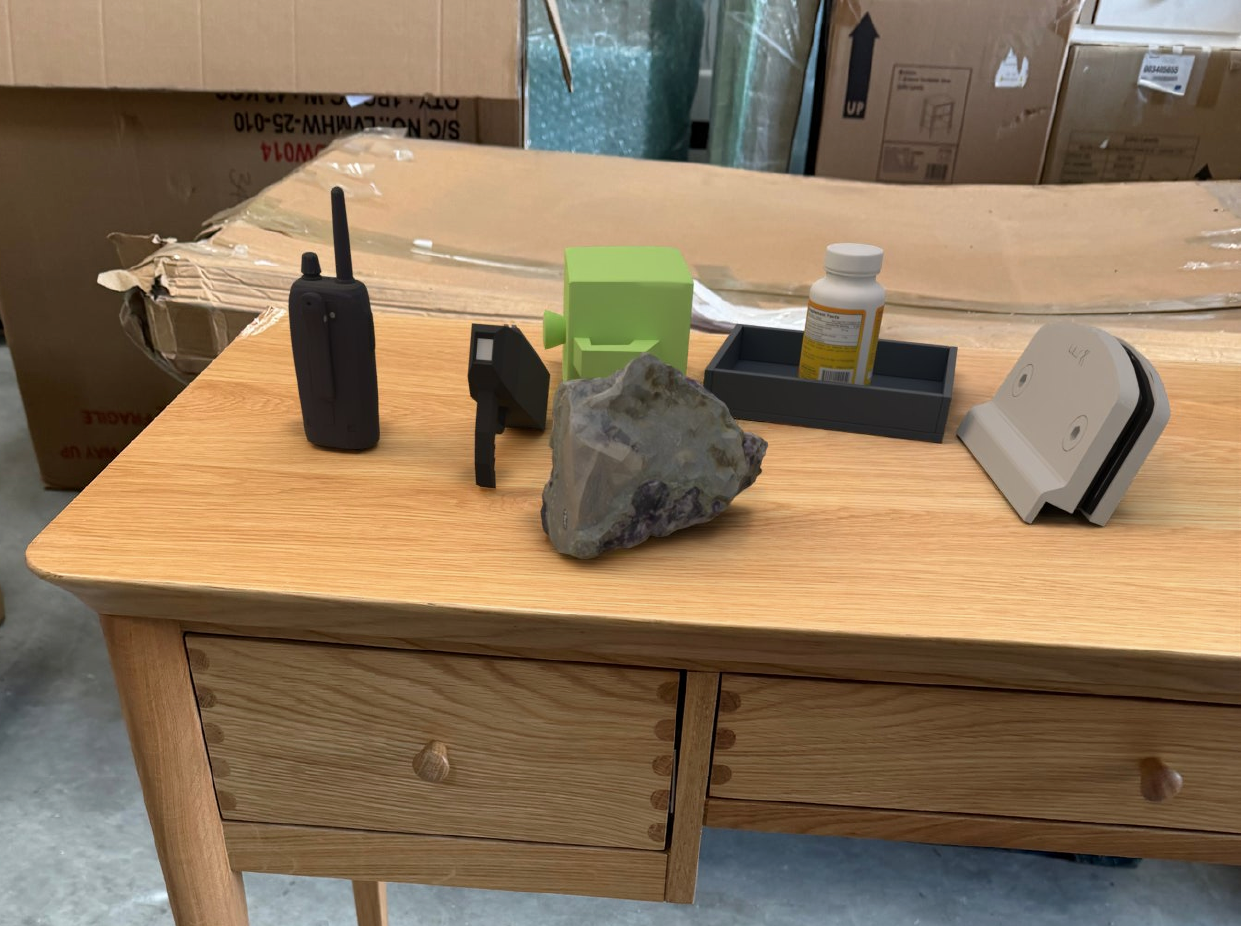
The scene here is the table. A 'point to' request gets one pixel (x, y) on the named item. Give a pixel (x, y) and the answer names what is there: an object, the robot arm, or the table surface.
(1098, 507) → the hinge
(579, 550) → the mineral rock
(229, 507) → the table surface
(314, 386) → the two-way radio
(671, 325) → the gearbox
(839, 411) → the tray
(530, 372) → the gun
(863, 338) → the supplement bottle
